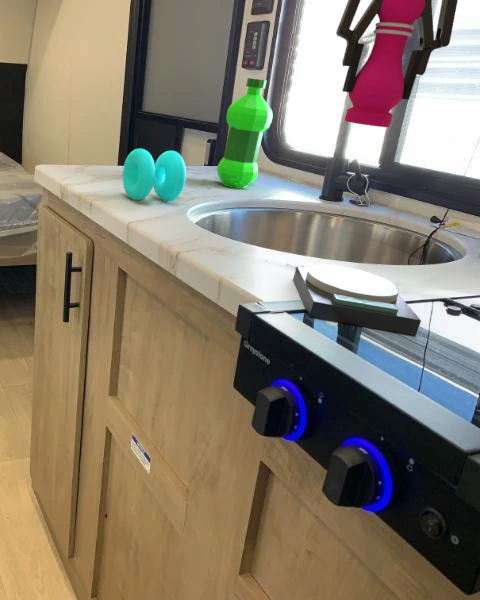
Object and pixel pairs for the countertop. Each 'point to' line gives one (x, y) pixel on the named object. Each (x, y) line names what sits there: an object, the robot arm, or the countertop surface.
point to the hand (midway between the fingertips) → (374, 95)
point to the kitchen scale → (354, 298)
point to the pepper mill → (384, 65)
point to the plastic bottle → (245, 136)
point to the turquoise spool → (154, 175)
